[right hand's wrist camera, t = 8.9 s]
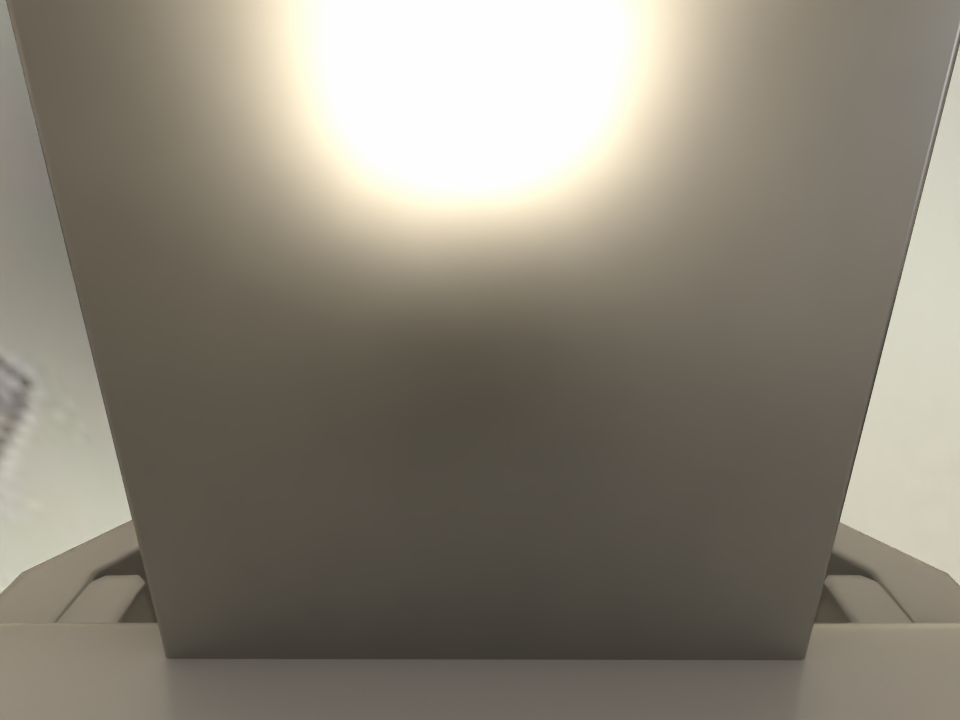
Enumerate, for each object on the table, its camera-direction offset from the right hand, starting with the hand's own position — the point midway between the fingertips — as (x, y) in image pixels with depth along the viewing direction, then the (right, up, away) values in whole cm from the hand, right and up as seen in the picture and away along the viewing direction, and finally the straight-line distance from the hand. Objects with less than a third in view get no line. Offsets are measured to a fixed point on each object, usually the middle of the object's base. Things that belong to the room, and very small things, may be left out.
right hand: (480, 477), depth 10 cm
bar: (0, +10, 0) cm, 10 cm away
